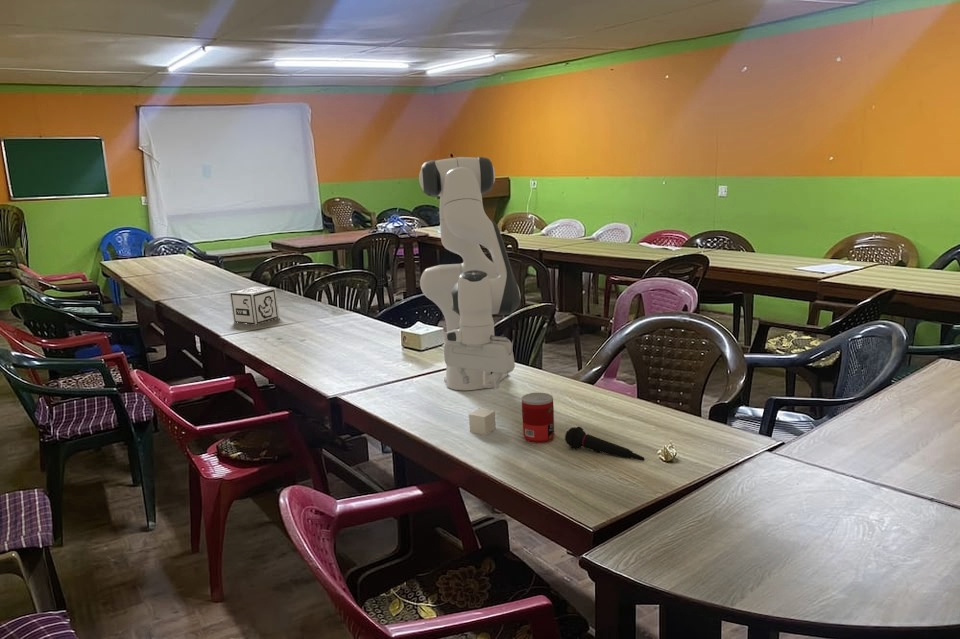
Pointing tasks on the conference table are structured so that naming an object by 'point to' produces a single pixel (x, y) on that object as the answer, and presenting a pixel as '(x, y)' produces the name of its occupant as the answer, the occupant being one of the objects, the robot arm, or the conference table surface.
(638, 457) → the microphone
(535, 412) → the canned food
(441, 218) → the robot arm
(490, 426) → the cream cube
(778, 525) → the conference table surface
